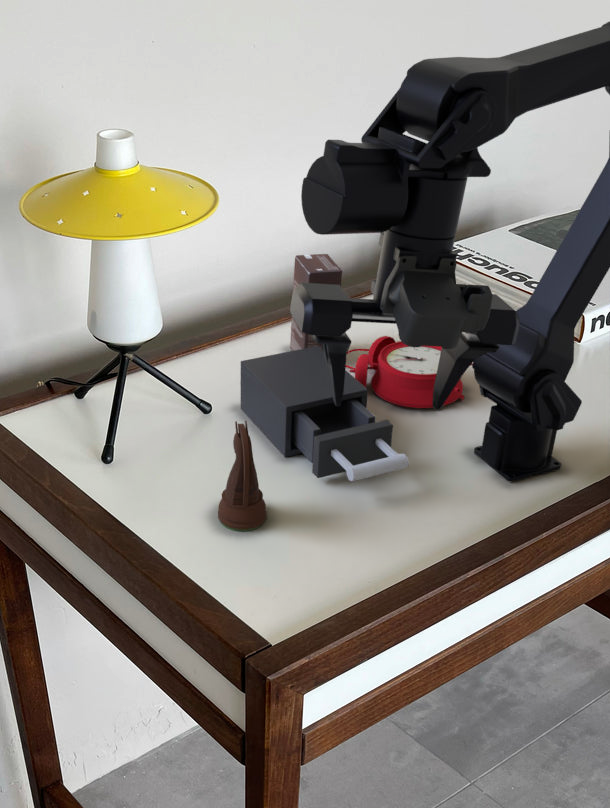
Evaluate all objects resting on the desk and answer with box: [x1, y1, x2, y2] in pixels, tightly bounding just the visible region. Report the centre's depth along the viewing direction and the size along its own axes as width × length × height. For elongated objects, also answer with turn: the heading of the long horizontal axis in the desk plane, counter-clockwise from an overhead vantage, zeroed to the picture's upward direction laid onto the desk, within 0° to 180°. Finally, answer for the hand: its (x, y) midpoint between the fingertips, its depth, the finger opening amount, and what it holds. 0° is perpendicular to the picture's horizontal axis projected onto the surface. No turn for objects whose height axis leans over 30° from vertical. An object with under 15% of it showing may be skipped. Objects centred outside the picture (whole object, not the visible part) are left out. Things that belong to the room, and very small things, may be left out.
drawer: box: [291, 398, 409, 482], centre depth 102 cm, size 15×8×4 cm, turn 23°
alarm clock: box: [346, 335, 473, 409], centre depth 116 cm, size 10×6×15 cm
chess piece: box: [217, 420, 268, 532], centre depth 93 cm, size 5×5×10 cm
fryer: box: [240, 346, 369, 458], centre depth 109 cm, size 11×9×6 cm
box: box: [289, 253, 343, 351], centre depth 120 cm, size 6×4×12 cm
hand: (386, 406), depth 90 cm, fingers open, 9 cm apart
